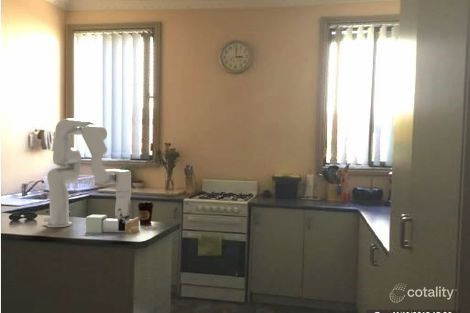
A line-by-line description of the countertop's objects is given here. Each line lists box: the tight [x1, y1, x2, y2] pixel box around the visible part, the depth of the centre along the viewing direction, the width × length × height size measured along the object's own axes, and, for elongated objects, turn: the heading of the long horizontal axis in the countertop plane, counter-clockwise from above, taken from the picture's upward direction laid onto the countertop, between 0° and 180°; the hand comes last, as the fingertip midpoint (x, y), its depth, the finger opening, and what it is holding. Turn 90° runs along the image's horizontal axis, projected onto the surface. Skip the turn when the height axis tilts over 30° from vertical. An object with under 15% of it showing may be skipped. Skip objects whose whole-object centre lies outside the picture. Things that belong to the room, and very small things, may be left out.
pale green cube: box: [85, 214, 108, 234], centre depth 217 cm, size 8×7×8 cm
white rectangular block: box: [102, 218, 134, 234], centre depth 216 cm, size 17×4×6 cm, turn 83°
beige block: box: [124, 216, 140, 235], centre depth 215 cm, size 4×9×7 cm, turn 173°
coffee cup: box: [137, 200, 154, 227], centre depth 233 cm, size 9×8×13 cm
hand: (123, 229), depth 216 cm, fingers open, 4 cm apart
